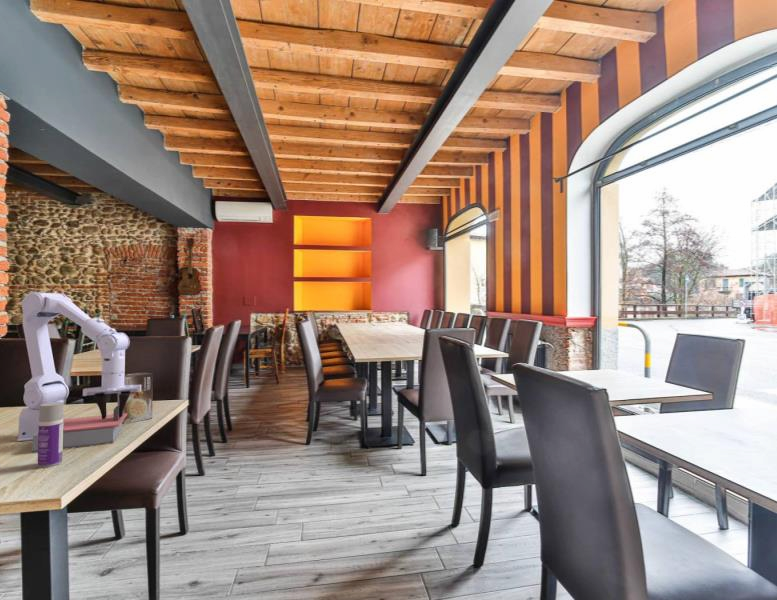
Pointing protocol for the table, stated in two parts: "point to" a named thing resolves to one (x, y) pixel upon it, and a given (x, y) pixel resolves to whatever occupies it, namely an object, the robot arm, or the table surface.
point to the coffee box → (138, 397)
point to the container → (50, 434)
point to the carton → (85, 437)
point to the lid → (93, 422)
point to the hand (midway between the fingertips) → (112, 417)
